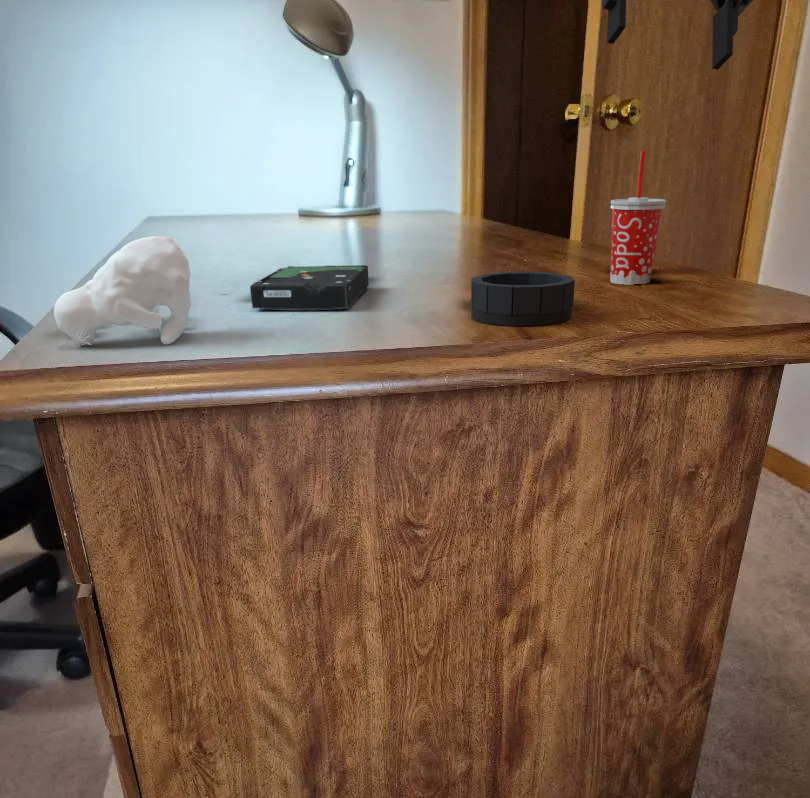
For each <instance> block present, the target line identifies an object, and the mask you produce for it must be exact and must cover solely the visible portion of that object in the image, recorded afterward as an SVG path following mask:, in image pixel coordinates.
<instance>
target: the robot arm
mask: <svg viewBox="0 0 810 798" xmlns="http://www.w3.org/2000/svg"><path fill="white" fill-rule="evenodd" d="M709 1H710V2H711V5H712V6H713V7H714V9H715V10H716V12H715V13H714V15H713V16H712V48H711V50H712V52H711V53H712V54H711V55H712V56H711V58H712V59H711V60H712V61H711V64H712V65H711V69H712V70H717V71H718V70H720V69H721V68H722V67H723V65H724V64H725V63H726V62H727V61H728V60H729V59H730V58H731V57H732V56H733V55H734V36H736V34H737V32H738V30H739V17H740V16H741V15H742V14H743V12H745V10H746V9H747V8H748V7H749V6H750V5H751V4H752V3H753V2H754V0H709ZM601 6H602V9H603V10H606V11H607V28H606V29H607V33H606V43H607V44H611V45H614V44H615V42H616V41H617V40H618V39H619V37H620V36H621V34H622V33H623V32H624V30H625V29H626V27H627V24H626V23H627V0H601Z"/></svg>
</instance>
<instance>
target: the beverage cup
mask: <svg viewBox="0 0 810 798" xmlns="http://www.w3.org/2000/svg"><path fill="white" fill-rule="evenodd" d="M645 159H646V150H641V151H640V159H639V168H638V178H637V188H636V196H635V197H633V196H632V197H628V198H617V199H612V200H611V199H610V204H611V205H610V209H612V213H611V245H610V277H609V281H610V283H611V284H615V285H622V284H623V286H635V285H634V284H642V285H647V284H646V283H648V284H650V283H651V279H652V274H653V267H654V262H655V255H656V251H657V244H658V238H659V233H660V227H661V222H662V215H663V209H665V208H666V204H667V199H665V198H663V199H662V198H649V197H646V196H645V197H644V196H642V191H643V190H642V188H643V180H644V179H643V178H644V169H645ZM649 282H650V283H649Z"/></svg>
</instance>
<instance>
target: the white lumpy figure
mask: <svg viewBox="0 0 810 798" xmlns="http://www.w3.org/2000/svg"><path fill="white" fill-rule="evenodd" d="M190 277H191V270H190V265H189V260H188V258H187V256H186V255H185V252H184V250H183V249H182V248H181V246H180V245H179V244H178V243H177V242H175V241H174V239H173V238H172V237H170V236H165V235H164V236H163V235H162V236H161V235H160V236H159V235H158V236H157V235H152V236H151V235H150V236H145V237H140V238H137V239H134V240H132V241H130V242H128V243H127V244H125V245H124V246H122V248H120V249H119V250H117V251H116V252H114V253H113V254H112V255H111V256H110V257H109V258H108V259H107V261H106V262H105V263H104V264H103V265H102V266H101V267H100V268H98V269H97V271H96V272H95V273H94V274H93V277H92V278H91V279H90V280H88V281H86V283H85V284H84V285H81V286H80V287H78V288H75V289H72V290H69V291H67V292H64V293H63V294H61V295H60V296H59V297H58V298H57V300H55V301H56V302H55V303H54V306H53V315H54V320H55V323H56V325H57V327H58V329H59V330H60V331H61V332H62V333H65V334H66V335H67V336H69V337H70V338H71V339H72V340H73V341H74V342H75V343H76V344H77V345H78V346H79V345H82V344H84V345H85V344H86V345H90V346H93V343H94V342H95V340H96V332H97V331H98V330H100V329H101V328H102V327H103V326H106V325H108V326H109V325H115V326H123V327H124V326H130V325H134V326H137V327H141V328H144V329H148V330H155V329H158V330H159V332H160V341H161V343H162V344H163V345H171V344H173V343H174V342H175V341H177V339H179V337H180V336H181V335H182V333H183V331H184V330H185V328H186V326H187V323H188V318H189V314H190V309H191V306H192V300H191V292H190V279H191V278H190ZM160 306H166V307H168V309H169V311H170V312H171V313H170V314H168V315H166V316H165V317H164V318H163V319H162V316H161V315H160V312H161V307H160ZM82 346H83V345H82Z"/></svg>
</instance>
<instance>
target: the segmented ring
mask: <svg viewBox="0 0 810 798" xmlns="http://www.w3.org/2000/svg"><path fill="white" fill-rule="evenodd" d="M575 285H576V279H574V278H573V277H572V276H571V275H567V274H561V273H555V272H543V271H502V272H491V273H484V274H480V275H477V276H472V277H471V278H470V309H471V311H470V317H471V319H472V320H474V321H475V322H479V323H482V324H486V325H493V326H504V327H542V326H550V325H556V324H561V323H564V322H567V321H569V320H570V319H571V318H572V311H573V310H572V309H573V308H574V301H575V299H574V298H575V287H576V286H575Z"/></svg>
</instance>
